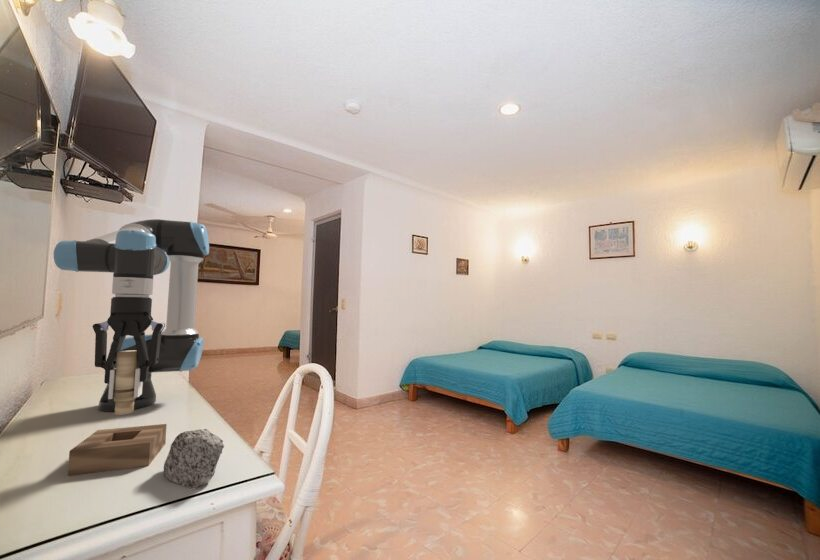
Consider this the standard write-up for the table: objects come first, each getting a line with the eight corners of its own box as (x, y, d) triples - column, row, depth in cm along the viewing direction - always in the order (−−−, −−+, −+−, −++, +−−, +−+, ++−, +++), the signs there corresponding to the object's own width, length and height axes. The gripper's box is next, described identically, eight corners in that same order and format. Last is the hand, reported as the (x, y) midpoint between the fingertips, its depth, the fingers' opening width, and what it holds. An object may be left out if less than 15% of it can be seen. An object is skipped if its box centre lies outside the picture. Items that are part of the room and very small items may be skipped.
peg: (117, 410, 81) (121, 350, 82) (138, 408, 82) (142, 350, 83) (109, 416, 77) (113, 353, 78) (131, 414, 79) (135, 352, 79)
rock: (228, 483, 69) (229, 430, 71) (180, 498, 63) (183, 440, 65) (203, 469, 80) (204, 424, 82) (159, 481, 74) (162, 432, 76)
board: (96, 451, 82) (97, 430, 83) (165, 443, 87) (166, 423, 88) (67, 475, 71) (69, 451, 72) (148, 465, 76) (150, 442, 77)
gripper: (77, 295, 75) (69, 404, 73) (170, 297, 81) (164, 398, 80) (94, 295, 82) (87, 395, 80) (179, 297, 88) (173, 389, 87)
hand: (125, 396), depth 80 cm, fingers closed on peg, 4 cm apart
